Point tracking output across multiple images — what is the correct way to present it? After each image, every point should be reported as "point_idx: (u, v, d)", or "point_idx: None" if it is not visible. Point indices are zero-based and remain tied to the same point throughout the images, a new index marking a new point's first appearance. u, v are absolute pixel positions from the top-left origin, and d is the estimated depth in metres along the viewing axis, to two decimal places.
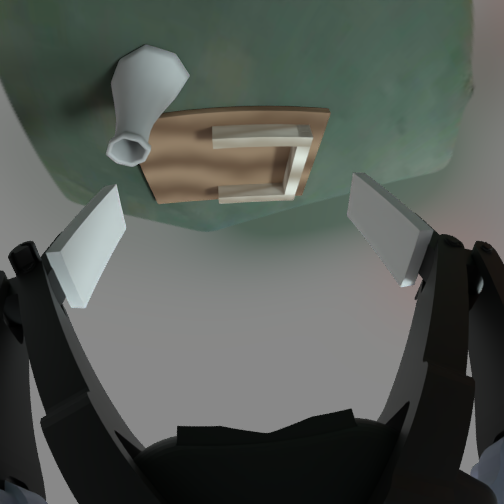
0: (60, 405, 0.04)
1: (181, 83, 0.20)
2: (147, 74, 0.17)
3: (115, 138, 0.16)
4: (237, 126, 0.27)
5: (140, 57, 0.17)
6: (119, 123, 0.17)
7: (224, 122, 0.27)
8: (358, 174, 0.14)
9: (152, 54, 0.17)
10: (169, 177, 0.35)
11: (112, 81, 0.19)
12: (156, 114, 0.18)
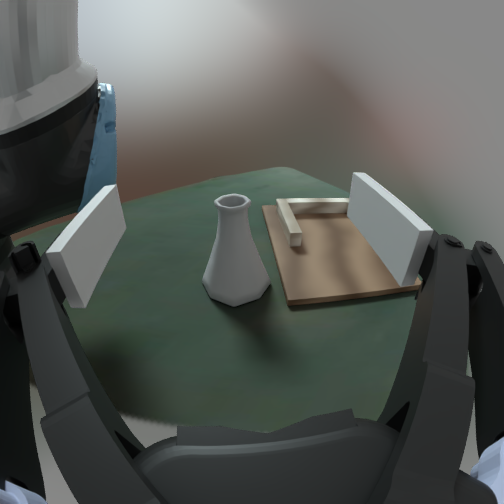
0: (60, 405, 0.04)
1: None
2: None
3: (216, 205, 0.25)
4: (285, 234, 0.38)
5: (206, 273, 0.30)
6: (222, 225, 0.26)
7: (284, 241, 0.36)
8: (358, 174, 0.14)
9: None
10: (369, 272, 0.31)
11: (229, 300, 0.28)
12: None
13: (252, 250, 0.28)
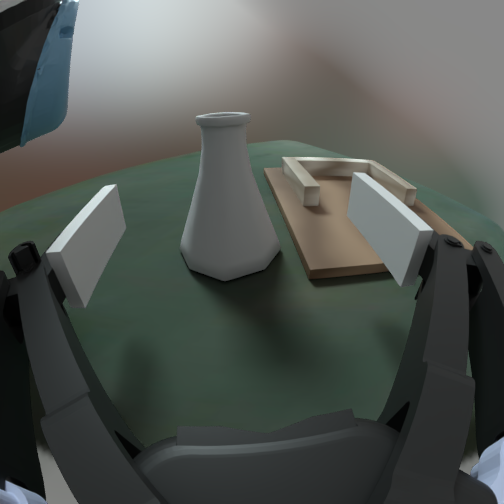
0: (60, 405, 0.04)
1: None
2: None
3: (198, 119, 0.15)
4: (296, 193, 0.28)
5: (185, 234, 0.20)
6: (206, 150, 0.16)
7: (295, 200, 0.27)
8: (358, 174, 0.14)
9: None
10: None
11: (217, 270, 0.18)
12: None
13: (253, 193, 0.18)
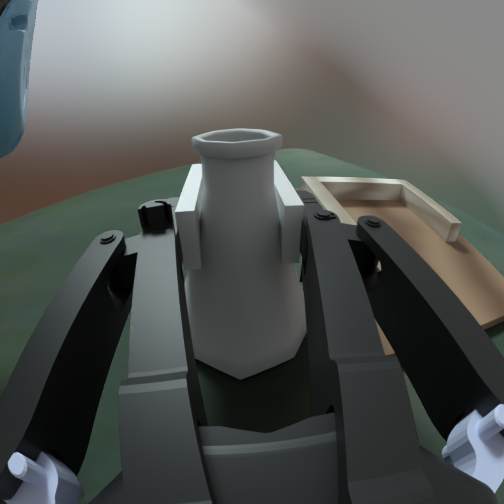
0: (148, 374, 0.05)
1: None
2: None
3: (196, 143, 0.09)
4: None
5: None
6: (210, 196, 0.10)
7: None
8: None
9: None
10: (465, 291, 0.15)
11: (230, 366, 0.12)
12: None
13: None
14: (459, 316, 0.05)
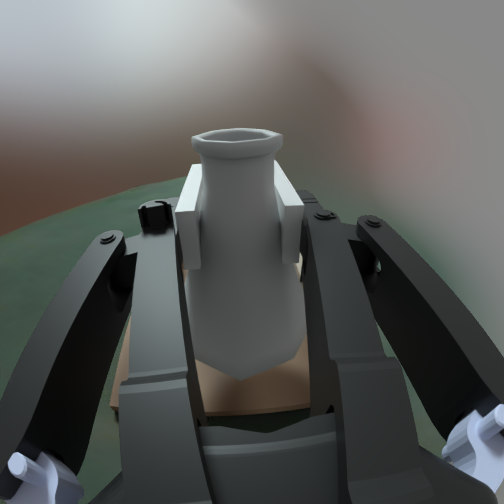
0: (148, 374, 0.05)
1: None
2: None
3: (196, 143, 0.09)
4: None
5: None
6: (210, 196, 0.10)
7: None
8: None
9: None
10: None
11: (230, 367, 0.12)
12: None
13: None
14: (459, 316, 0.05)
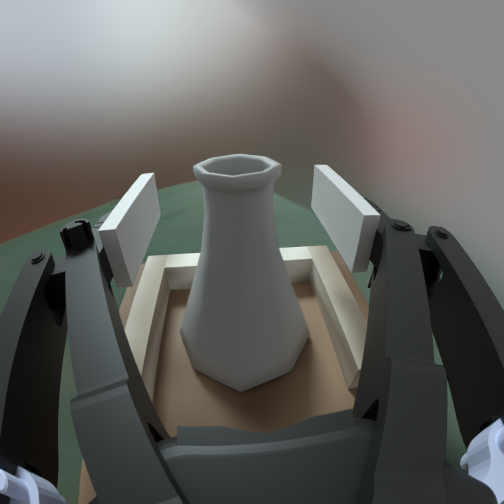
0: (94, 388, 0.04)
1: None
2: None
3: (198, 173, 0.10)
4: None
5: (185, 319, 0.15)
6: (211, 223, 0.11)
7: None
8: (319, 166, 0.15)
9: None
10: None
11: (231, 379, 0.12)
12: None
13: (281, 280, 0.12)
14: (502, 328, 0.05)
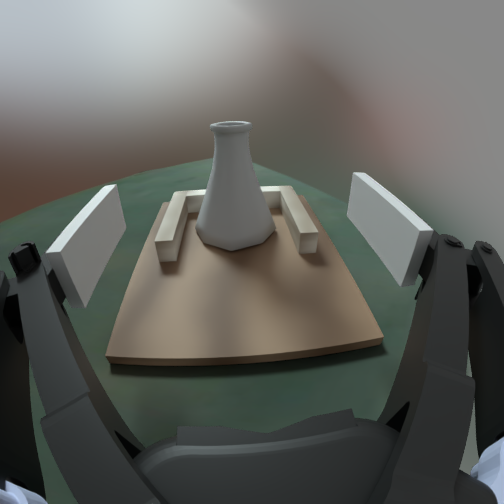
0: (60, 405, 0.04)
1: None
2: None
3: (212, 127, 0.20)
4: None
5: (200, 216, 0.25)
6: (218, 151, 0.21)
7: (157, 253, 0.23)
8: (358, 174, 0.14)
9: None
10: (275, 312, 0.17)
11: (226, 242, 0.23)
12: None
13: (254, 184, 0.23)
14: None
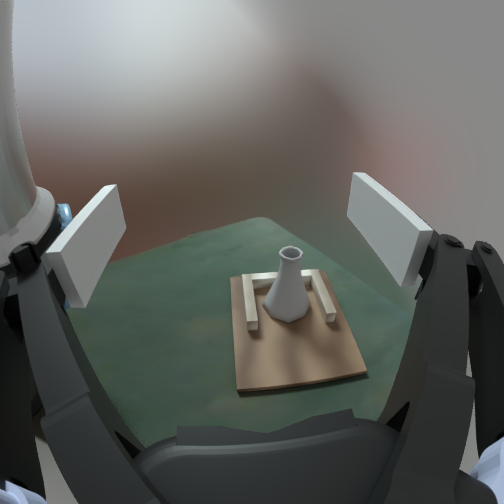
0: (60, 405, 0.04)
1: None
2: None
3: (281, 256, 0.37)
4: (245, 316, 0.41)
5: (266, 299, 0.42)
6: (283, 269, 0.38)
7: (243, 324, 0.40)
8: (358, 174, 0.14)
9: None
10: (316, 359, 0.34)
11: (285, 318, 0.40)
12: None
13: (301, 284, 0.40)
14: None
